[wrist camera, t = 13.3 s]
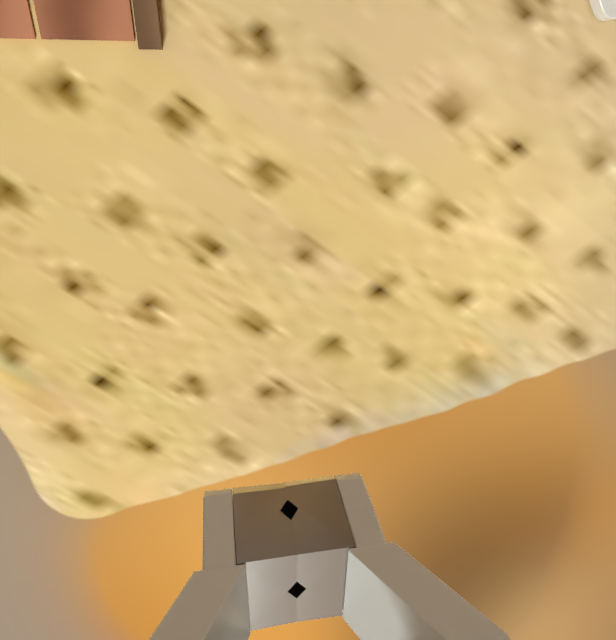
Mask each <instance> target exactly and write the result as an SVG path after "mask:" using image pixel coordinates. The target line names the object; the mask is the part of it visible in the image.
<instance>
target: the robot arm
mask: <svg viewBox="0 0 616 640" xmlns="http://www.w3.org/2000/svg"><path fill="white" fill-rule="evenodd" d="M590 4H591V7H592V10H593V13H594V15H595V16H596V18H597V19H599V20H601V21H610V20H614V19H616V0H590ZM232 490H233V496H232ZM203 500H204V501H203V502H204V503H203V505H204V506H203V570H201V571H195V572H194V573H193V574H192V576H191V577H190V579H189V580H188V582H187V583H186V585H185V586H184V588H183V589H182V591H181V592H180V594H179V595H178V597H177V598H176V600H175V601H174V603H173V604H172V606H171V607H170V609H169V610H168V612H167V613H166V615H165V616H164V618H163V619H162V621H161V622H160V624H159V625H158V627H157V628H156V630H155V631H154V633H153V634H152V636H151V637H150V639H149V640H248V638H249V636H250V631H252V630H257V629H262V628H267V627H272V626H277V625H282V624H287V623H292V622H296V621H297V622H298V621H305V620H313V619H320V618H327V617H334V616H341V615H343V619H344V620H345V621H346V622H347V624H348V625H349V626H350V627H351V628H352V630H353V631H354V632H355V633H356V634H357V636H358V637H359V638H360V639H361V640H510V639H509V637H508V635H507V633H505V632H504V631H503V630H502V629H500V628H499V627H498V626H497V625H495V624H494V623H493V622H492V621H491V620H489V619H488V618H487V617H486V616H484V615H483V614H482V613H481V612H479V611H478V610H477V609H476V608H475V607H473V606H472V605H471V604H470V603H468V602H467V601H466V600H465V599H464V598H462V597H461V596H460V595H458V594H457V593H456V592H455V591H454V590H452V589H451V588H450V587H449V586H447V585H446V584H445V583H444V582H442V581H441V580H440V579H439V578H438V577H436V576H435V575H434V574H433V573H431V572H430V571H429V570H428V569H427V568H425V567H424V566H423V565H422V564H420V563H419V562H418V561H417V560H415V559H414V558H413V557H412V556H411V555H409V554H408V553H407V552H406V551H404V550H403V549H402V548H401V547H399V546H398V545H397V544H396V543H394V542H393V543H386V540H385V538H384V535H383V532H382V530H381V527H380V524H379V521H378V519H377V516H376V513H375V510H374V507H373V505H372V502H371V499H370V497H369V494H368V491H367V489H366V486H365V483H364V480H363V478H362V476H361V475H360V474H359V473H354V474H346V475H339V476H334V477H332V476H329V477H322V478H314V479H307V480H300V481H292V482H284V483H281V484H270V485H260V486H250V487H239V488H233V489H224V490H213V491H205V494H204V499H203Z"/></svg>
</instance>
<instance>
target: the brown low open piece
mask: <svg viewBox="0 0 616 640" xmlns="http://www.w3.org/2000/svg"><path fill="white" fill-rule="evenodd" d="M34 5H35V10H36V15H37V20H38V24H39V29H40V34H41V39H71V40H118V41H135V37H134V30H133V22H132V14H131V7H130V0H34ZM133 8H134V16H135V24H136V32H137V40H138V47H139V49H158V50H163V49H162V39H161V30H160V21H159V12H158V2H157V0H133ZM0 38H25V39H36V36H35V32H34V27H33V22H32V18H31V13H30V8H29V3H28V0H0Z"/></svg>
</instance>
